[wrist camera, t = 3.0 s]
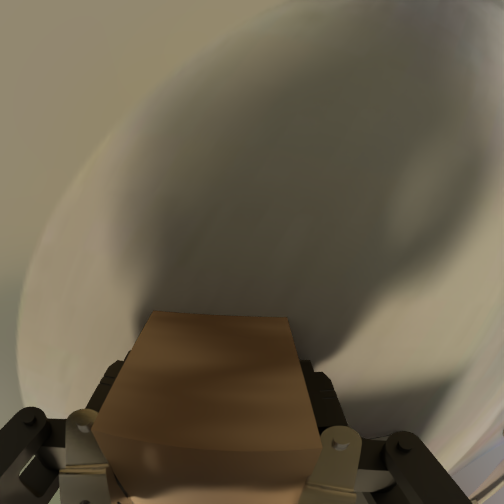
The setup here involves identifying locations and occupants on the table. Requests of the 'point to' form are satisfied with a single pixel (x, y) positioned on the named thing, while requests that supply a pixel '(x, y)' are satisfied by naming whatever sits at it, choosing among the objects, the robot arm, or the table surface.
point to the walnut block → (210, 413)
